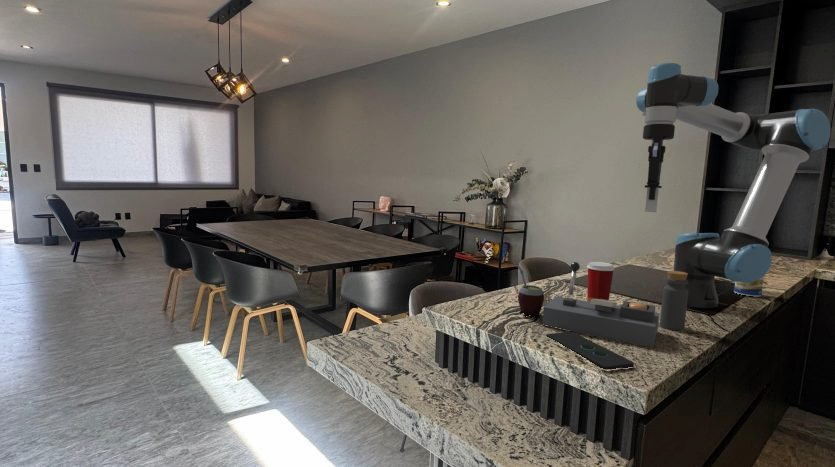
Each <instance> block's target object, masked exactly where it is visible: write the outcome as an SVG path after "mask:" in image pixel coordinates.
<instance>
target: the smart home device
mask: <svg viewBox="0 0 835 467" xmlns="http://www.w3.org/2000/svg"><path fill="white" fill-rule="evenodd" d="M546 336H547V337H549V338H551V339H553V340H555V341H557V342H559V343H560V344H562V345H563V346H565V347H567V348H569V349H571V350H572V351H574V352H576V353H577V354H579V355H581V356H582V357H584V358H586V359H587V360H589V361H590V362H592V363H594V364H595V365H597V366H599V367H600V368H603V369H616V368H628V367H633V368H635V367H634V364H635V363H634V362H633V361H632V360H630V359H628V358H627V357H624V356H622V355H620V354H618V353H617V352H614V351H613V350H610V349H608V348H606V347H604V346H602V345H600V344H598V343H597V342H594V341H592V340H590V339H588V338H586V337H584V336H582V335H580V334H579V333H577V332H571V331H565V332H555V333H554V332H553V333H546V334H545V337H546Z"/></svg>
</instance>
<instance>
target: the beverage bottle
mask: <svg viewBox="0 0 835 467" xmlns="http://www.w3.org/2000/svg"><path fill="white" fill-rule="evenodd" d="M764 278H765V275H764V276H763V277H762V278H761V279H759V280H757V281H754V282H752V283H743V282H734V288H733V292H734V293H735V294H736V293H737V295H739V294H741V295H740V296H742V295H746V296H745V297H748V296H753V297H752V298H759V297H761V296H762V294H763V285H764Z"/></svg>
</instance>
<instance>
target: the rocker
mask: <svg viewBox="0 0 835 467" xmlns="http://www.w3.org/2000/svg"><path fill="white" fill-rule="evenodd" d="M590 304H596V305H602V306H608V307H616V306H618V301H613V300H610V299H609V300H604V299H591V300H590Z"/></svg>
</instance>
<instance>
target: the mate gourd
mask: <svg viewBox="0 0 835 467" xmlns="http://www.w3.org/2000/svg"><path fill="white" fill-rule="evenodd" d="M512 263H513V264H514V265H515V267H517V269H518V270H519V273H520V275H521V278H522V282H523V285H522V286H521V287H520V289H519V291H518V294H517V300H518V304H519V309H520V311H519V314H521V313H524V314H522V317H523V316H525V317H526V316H529V315H531V316H529V317H533V316H535V317H534V318H537V317H540V318H541V315H540V314H541V313H542V312H541V311H542V308H543V306H544V305H543V304H544V302H545V301H544V300H545V294H544V293H545V292H544V291H543V289H542V288H541V287H540V286H536V285H527V282H526V279H525V276H524V270H523V269H522V268H521V266H520V265H518V264H516V263H515V262H512ZM526 318H527V317H526Z"/></svg>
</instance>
